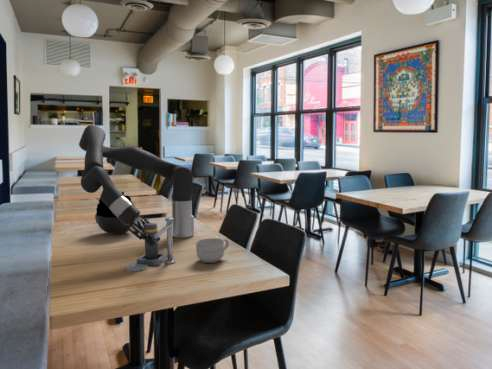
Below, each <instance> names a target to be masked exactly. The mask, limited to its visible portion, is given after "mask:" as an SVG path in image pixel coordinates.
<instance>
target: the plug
mask: <svg viewBox="0 0 492 369" xmlns="http://www.w3.org/2000/svg"><path fill="white" fill-rule="evenodd" d="M144 227H145V229H146V232H147V233H148V236H150V237H151V238H152V239H153V240H154V241H155V242H156V243H155V244H154V245H153V246H150V244H149V243H148V242H147V241H146V240H145V239H144V253H145V259H157V258H158V253H159V241H158V238H154V235H155V234H156V233H157V232H159V230H158V223H156V222H155V223H154V222H153V223H152V222H150V223H148V224H144Z"/></svg>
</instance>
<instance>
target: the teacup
mask: <svg viewBox="0 0 492 369" xmlns="http://www.w3.org/2000/svg"><path fill="white" fill-rule="evenodd" d="M224 242H225V243H224ZM229 245H230V241H229V240H228V239H227V238H222V239H221V238H216V237H212V238H211V237H210V238H201V239H198V240H196V241H195V248H196V256H197V259H199V260H200V261H201V262H202V263H204V262H205V263H206V264H213V263H218V262H219V261H221V259H223V257H224V255H225V254H224V253H225V251H226V250H227V249H228V248H229ZM205 263H204V264H205Z"/></svg>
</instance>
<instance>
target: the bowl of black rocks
mask: <svg viewBox="0 0 492 369" xmlns="http://www.w3.org/2000/svg"><path fill="white" fill-rule="evenodd" d="M124 197H126V198H127V199H128V200H129V201H130V202H131V203H132V204H133V205H134V204H135V203H134V202H132V198H131V197H130V196H129V195H125V194H124ZM134 206H135V205H134ZM95 210H96V212H95V215H94V219H95V221H96V223H97V225H98V226H99V228H100V229H101V230H102V231H104V232H105V233H107V234H110V235H115V236H117V235H118V236H119V235H123V234H126V233H128V232H130V231H129V228H130V227H131V226H130V225H127V226H125V225H124V224H123V223H122V222H121V221H120V220H119V219H118V218H117V217H116V216H115V215H114V214H113V212H112V211H111V210H110V209H109V207H108V206H107V205H106V204H105V203H104V202H103V201H102V200H101V199H100V198H99V199H98V203H97V205H96V209H95Z"/></svg>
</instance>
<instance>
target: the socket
mask: <svg viewBox="0 0 492 369" xmlns="http://www.w3.org/2000/svg"><path fill="white" fill-rule="evenodd" d="M165 260H168V257H167V253H160V252H158V258H157V259H145V252H144V253H143V254H142V255H140V256H139V257H138V258H136V263H137V264H147V265H148V266H158V267H159V266H161V265H163V263H165Z"/></svg>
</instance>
